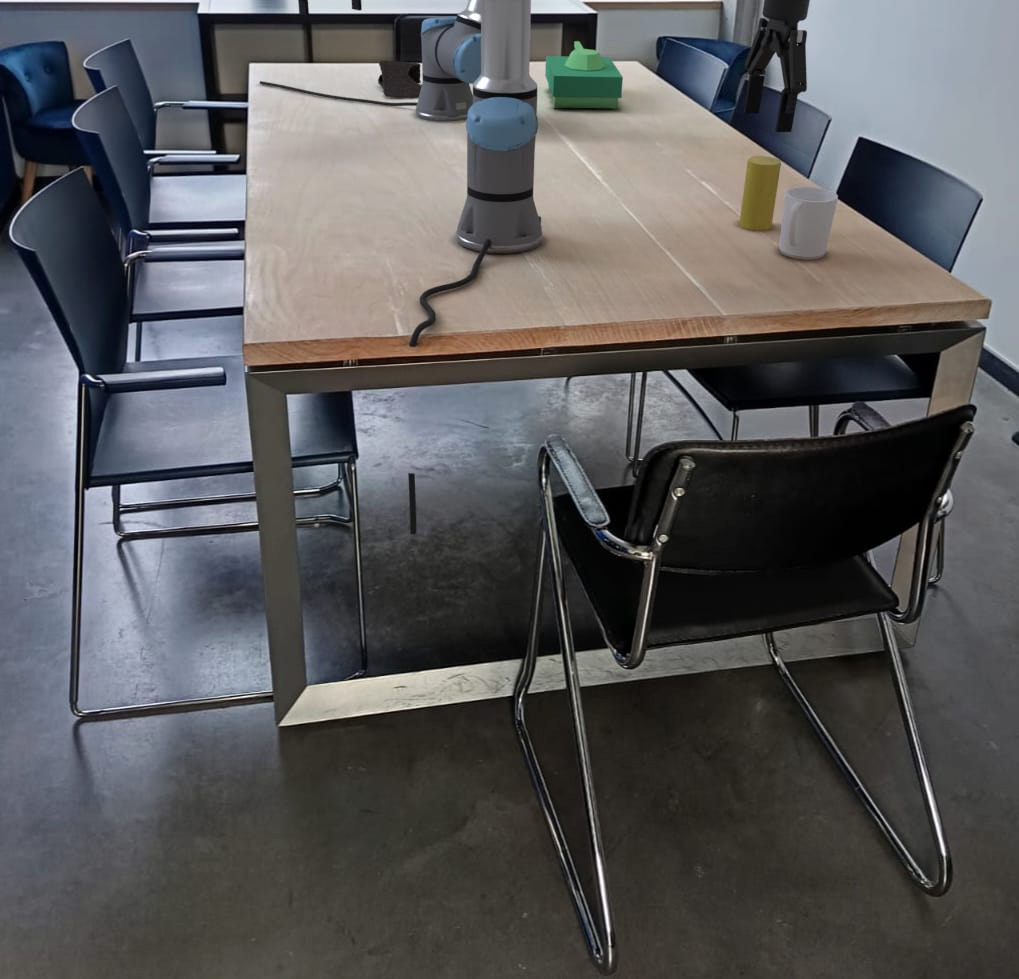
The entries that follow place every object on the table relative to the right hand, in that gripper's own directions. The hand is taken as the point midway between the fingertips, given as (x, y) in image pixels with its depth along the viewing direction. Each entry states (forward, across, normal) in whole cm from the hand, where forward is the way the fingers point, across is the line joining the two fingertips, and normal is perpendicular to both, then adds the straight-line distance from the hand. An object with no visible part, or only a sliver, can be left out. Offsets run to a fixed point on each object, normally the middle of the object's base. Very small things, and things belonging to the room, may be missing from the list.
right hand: (766, 122), depth 196 cm
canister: (+19, 0, -1) cm, 19 cm away
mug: (+19, -17, -2) cm, 25 cm away
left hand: (-6, +75, +70) cm, 103 cm away
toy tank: (+20, +112, 0) cm, 114 cm away
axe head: (+21, +126, +47) cm, 136 cm away
